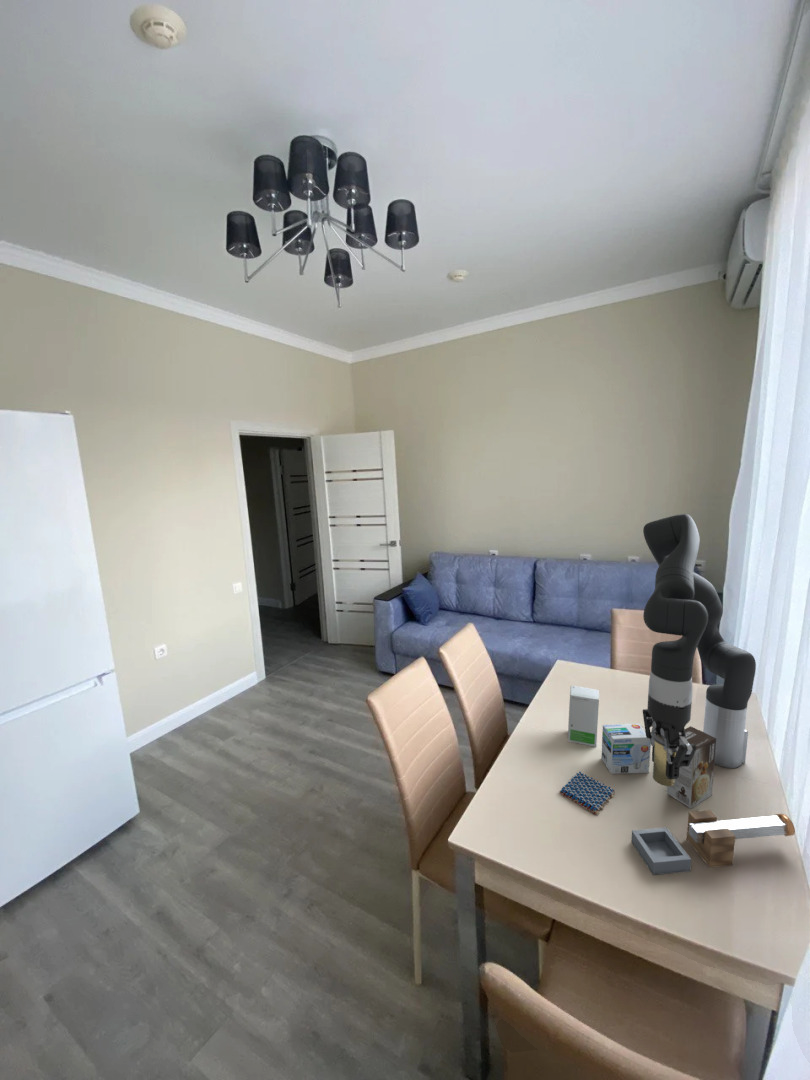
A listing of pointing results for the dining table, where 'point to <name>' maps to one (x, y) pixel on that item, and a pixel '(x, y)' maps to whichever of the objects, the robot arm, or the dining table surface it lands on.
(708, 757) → the coffee box
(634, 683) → the dining table surface
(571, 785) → the woven mat
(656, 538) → the robot arm
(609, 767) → the light bulb box
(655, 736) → the yellow glass jar
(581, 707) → the skincare box
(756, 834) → the pin
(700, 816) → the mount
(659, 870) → the box
